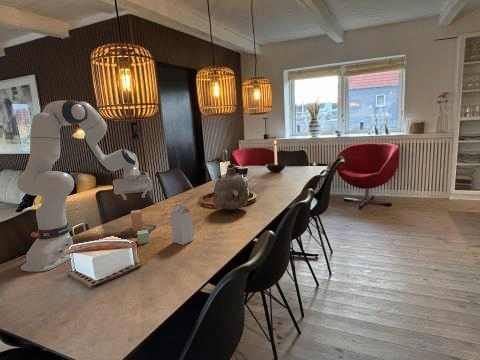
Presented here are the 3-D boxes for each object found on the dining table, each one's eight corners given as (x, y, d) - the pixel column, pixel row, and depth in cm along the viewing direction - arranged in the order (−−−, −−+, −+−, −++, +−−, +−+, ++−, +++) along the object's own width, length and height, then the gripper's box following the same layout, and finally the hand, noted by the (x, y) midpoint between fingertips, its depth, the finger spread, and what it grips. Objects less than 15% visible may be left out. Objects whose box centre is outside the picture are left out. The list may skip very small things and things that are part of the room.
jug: (206, 210, 200) (203, 164, 194) (233, 203, 213) (230, 160, 207) (230, 219, 182) (228, 168, 175) (257, 211, 195) (256, 163, 189)
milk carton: (184, 237, 157) (181, 201, 154) (193, 240, 153) (191, 203, 149) (173, 242, 152) (169, 204, 148) (182, 245, 148) (179, 206, 144)
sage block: (149, 242, 153) (148, 232, 152) (138, 244, 152) (137, 234, 151) (148, 238, 158) (147, 229, 157) (138, 240, 156) (137, 231, 155)
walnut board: (144, 237, 160) (144, 234, 160) (119, 236, 162) (119, 234, 162) (156, 227, 173) (155, 225, 173) (132, 227, 176) (132, 224, 175)
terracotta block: (143, 230, 166) (141, 212, 164) (133, 231, 164) (131, 213, 162) (142, 227, 171) (140, 209, 169) (132, 228, 169) (130, 210, 167)
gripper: (111, 176, 171) (113, 197, 164) (150, 172, 178) (153, 193, 171) (112, 182, 176) (114, 203, 169) (150, 178, 183) (153, 199, 176)
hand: (134, 198), depth 170 cm, fingers open, 8 cm apart
